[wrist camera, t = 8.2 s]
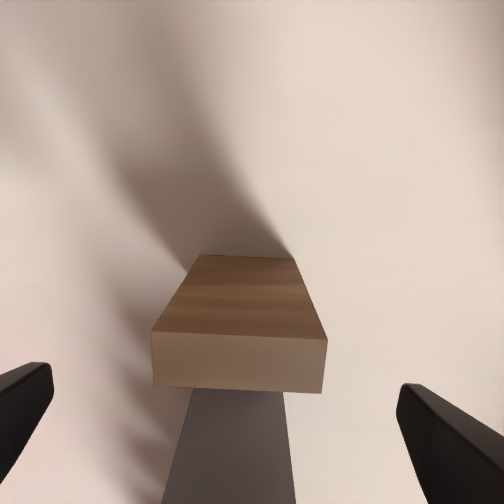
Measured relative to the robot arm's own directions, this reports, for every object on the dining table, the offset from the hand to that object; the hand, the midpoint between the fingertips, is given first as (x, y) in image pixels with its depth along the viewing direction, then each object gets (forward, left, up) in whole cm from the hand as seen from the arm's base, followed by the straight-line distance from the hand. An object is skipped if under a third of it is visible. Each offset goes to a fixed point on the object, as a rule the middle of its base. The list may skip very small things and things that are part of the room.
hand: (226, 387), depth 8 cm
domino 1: (0, 0, -9) cm, 9 cm away
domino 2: (+6, +4, -9) cm, 12 cm away
